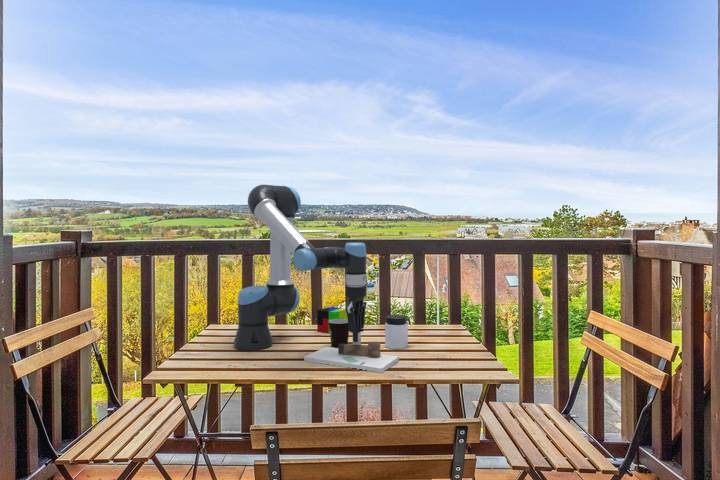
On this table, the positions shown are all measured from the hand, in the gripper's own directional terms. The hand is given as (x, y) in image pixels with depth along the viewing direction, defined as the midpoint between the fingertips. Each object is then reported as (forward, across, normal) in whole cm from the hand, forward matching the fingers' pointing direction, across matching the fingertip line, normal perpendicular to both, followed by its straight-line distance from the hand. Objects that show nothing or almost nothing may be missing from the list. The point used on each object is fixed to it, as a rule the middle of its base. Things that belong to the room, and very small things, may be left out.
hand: (356, 349), depth 165 cm
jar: (+4, +20, -7) cm, 22 cm away
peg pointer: (+1, -2, -2) cm, 3 cm away
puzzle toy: (+4, +33, +28) cm, 44 cm away
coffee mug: (+3, +13, +14) cm, 19 cm away
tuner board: (+3, -4, 0) cm, 5 cm away
